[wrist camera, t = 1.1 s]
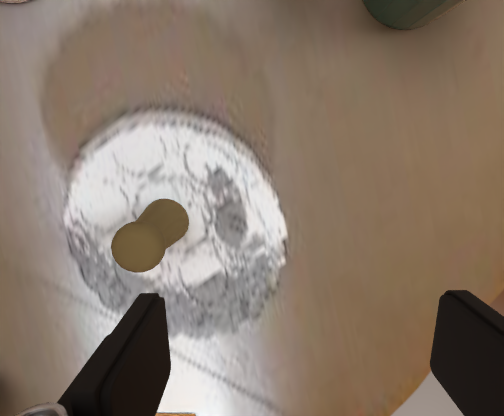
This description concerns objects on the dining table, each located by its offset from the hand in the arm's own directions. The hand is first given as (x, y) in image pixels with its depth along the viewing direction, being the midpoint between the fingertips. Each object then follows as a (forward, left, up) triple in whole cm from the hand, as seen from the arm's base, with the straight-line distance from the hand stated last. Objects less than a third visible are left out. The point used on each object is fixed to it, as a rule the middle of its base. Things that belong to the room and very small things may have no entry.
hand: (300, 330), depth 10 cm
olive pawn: (-2, -14, -29) cm, 32 cm away
